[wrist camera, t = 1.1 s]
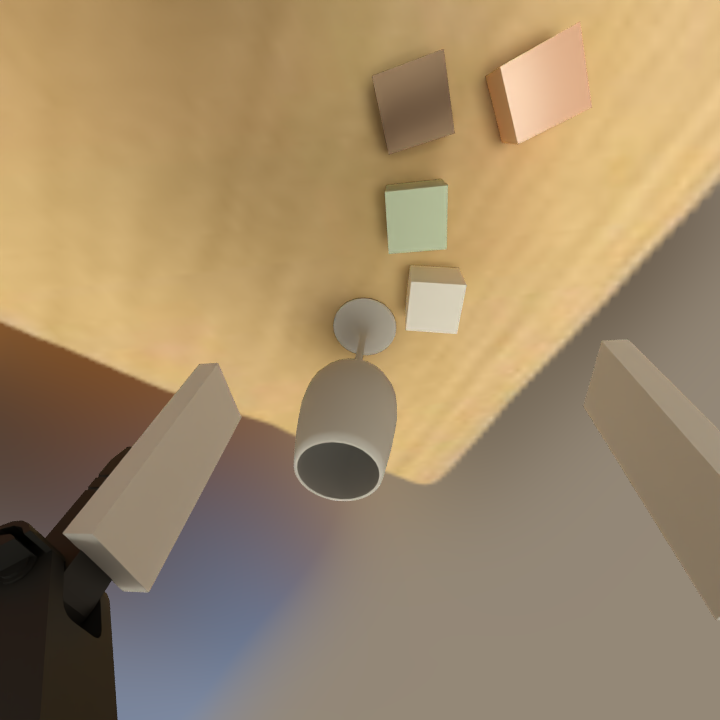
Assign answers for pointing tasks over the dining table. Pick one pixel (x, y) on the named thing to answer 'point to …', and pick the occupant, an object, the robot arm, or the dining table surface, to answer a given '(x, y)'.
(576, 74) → the terracotta cube
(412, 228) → the sage cube
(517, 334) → the dining table surface
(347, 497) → the wineglass
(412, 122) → the walnut cube
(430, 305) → the white cube
